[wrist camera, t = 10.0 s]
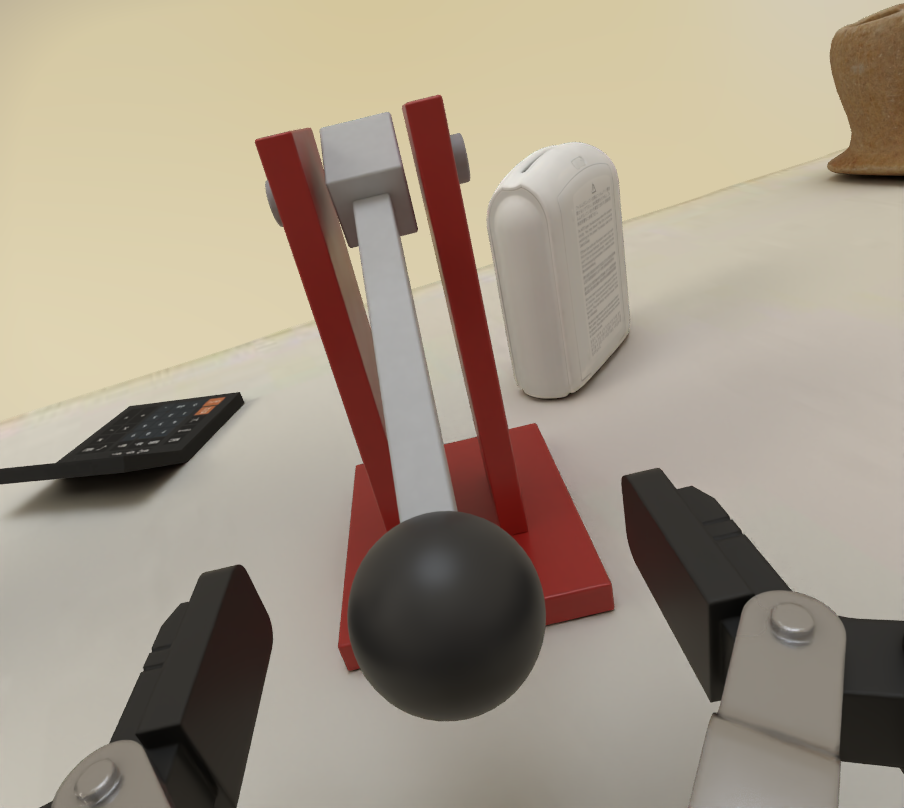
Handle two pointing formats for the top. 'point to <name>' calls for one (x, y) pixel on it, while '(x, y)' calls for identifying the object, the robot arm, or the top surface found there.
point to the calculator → (139, 439)
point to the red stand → (496, 447)
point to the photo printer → (560, 266)
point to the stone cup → (871, 92)
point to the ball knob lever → (423, 485)
